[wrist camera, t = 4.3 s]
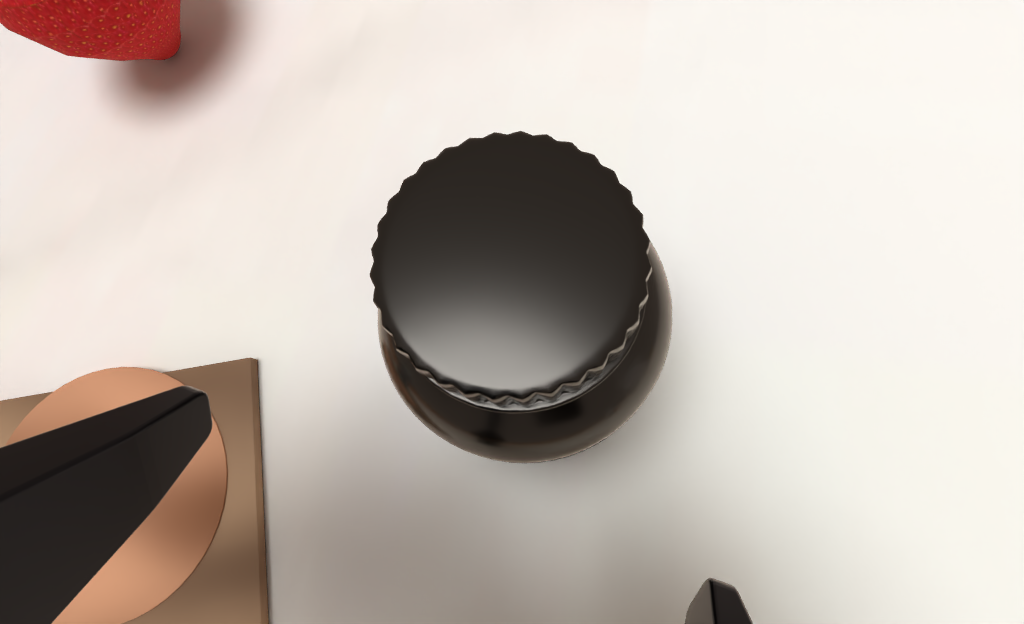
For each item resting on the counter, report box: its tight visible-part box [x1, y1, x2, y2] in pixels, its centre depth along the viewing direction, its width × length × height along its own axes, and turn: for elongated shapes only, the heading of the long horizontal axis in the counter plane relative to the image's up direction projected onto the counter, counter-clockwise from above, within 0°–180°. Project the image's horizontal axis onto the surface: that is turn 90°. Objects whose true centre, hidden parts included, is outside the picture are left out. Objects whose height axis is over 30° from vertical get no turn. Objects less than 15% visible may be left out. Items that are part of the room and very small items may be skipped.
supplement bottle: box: [370, 131, 672, 463], centre depth 15 cm, size 7×7×12 cm
